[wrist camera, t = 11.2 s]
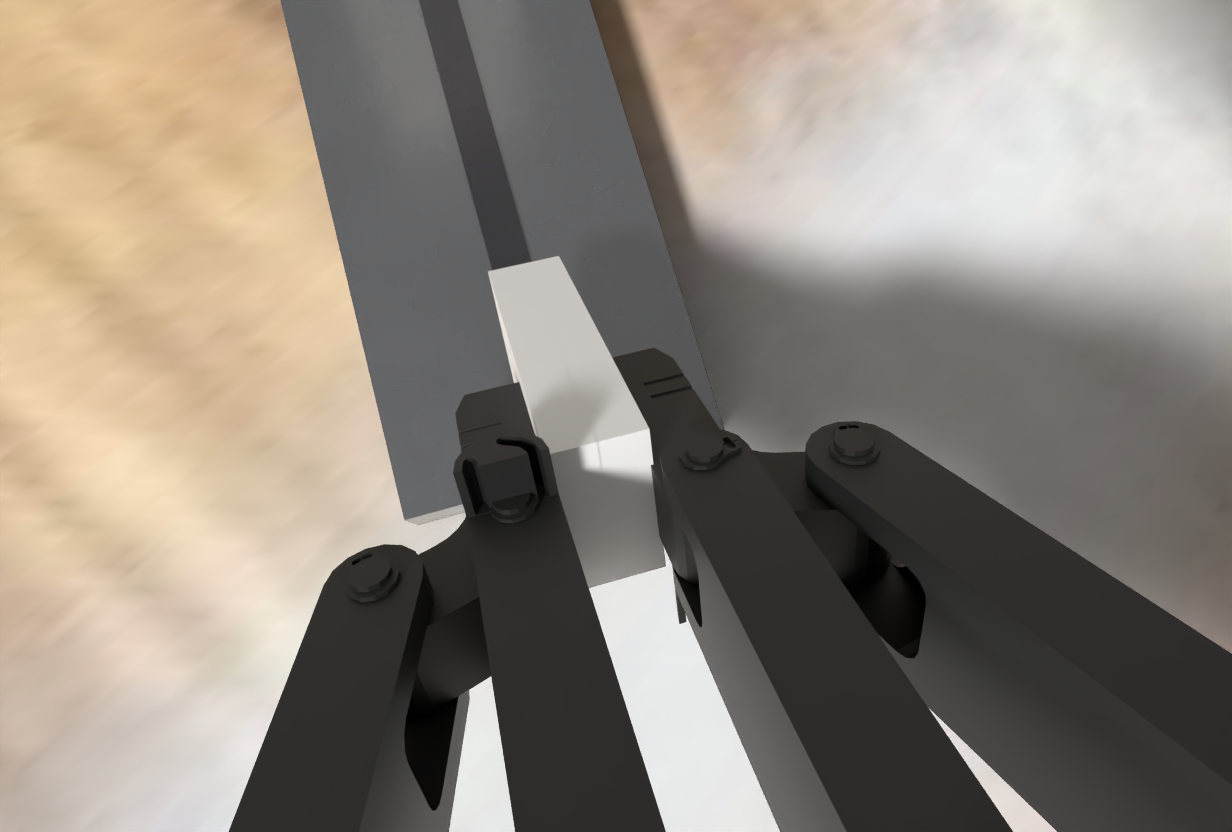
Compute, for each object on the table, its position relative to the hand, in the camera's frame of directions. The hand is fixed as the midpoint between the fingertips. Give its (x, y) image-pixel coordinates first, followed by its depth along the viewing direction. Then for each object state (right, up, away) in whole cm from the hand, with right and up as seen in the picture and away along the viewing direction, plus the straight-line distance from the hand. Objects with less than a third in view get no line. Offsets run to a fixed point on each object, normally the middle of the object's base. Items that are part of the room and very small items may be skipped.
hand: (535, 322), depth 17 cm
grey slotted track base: (-3, +7, +6) cm, 9 cm away
